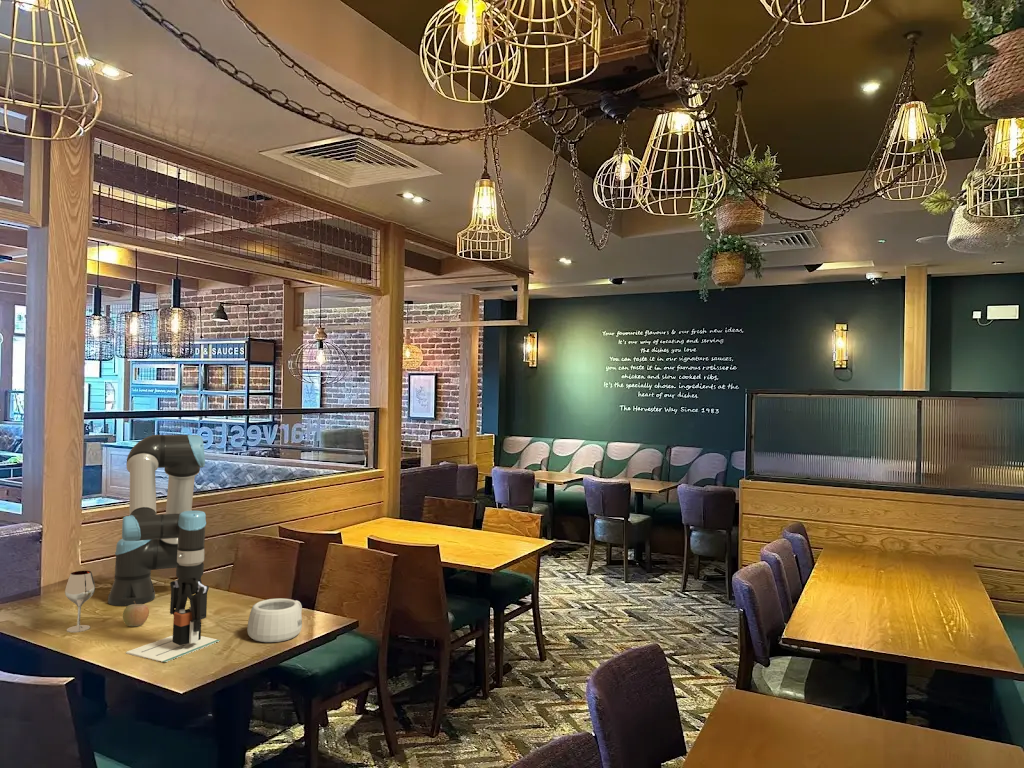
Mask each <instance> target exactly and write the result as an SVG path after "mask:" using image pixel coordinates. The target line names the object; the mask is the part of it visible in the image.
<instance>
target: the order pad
mask: <svg viewBox="0 0 1024 768" xmlns="http://www.w3.org/2000/svg"><path fill="white" fill-rule="evenodd" d="M219 641H220V642H221V639H216V638H212V637H207V636H202V635H201V639H200V640H198V641H197V642H194V643H191V644H190V643H187V644H184V645H178V644H176V643H173V634H172V635H170V636H167V637H164V638H161V639H158V640H156V641H153V642H150V643H147V644H144V645H141V646H139V647H136V648H133V649H130V650H128V651H125V654H127V655H130V656H135V657H137V658H138V657H139V658H142V657H143V659H146V658H148V659H147V660H150V659H152V660H151V661H154V660H156V661H155V662H158V661H161V662H160V663H162V662H167V663H169V662H168V661H170V660H172V661H174V660H173V659H175V658H177V659H179V658H178V657H180V658H182V657H184V656H183V655H185V656H187V655H189V653H190V654H192V653H195V652H197V651H200V650H202V649H205V648H207V647H210V646H213V645H214V643H215V644H217V643H216V642H218V643H219ZM212 644H213V645H212ZM209 645H210V646H209ZM204 647H205V648H204ZM199 649H200V650H199ZM196 650H197V651H196ZM194 651H195V652H194ZM191 652H192V653H191ZM186 654H187V655H186ZM181 656H182V657H181ZM175 660H176V659H175ZM170 662H171V661H170Z"/></svg>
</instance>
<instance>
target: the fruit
mask: <svg viewBox="0 0 1024 768" xmlns="http://www.w3.org/2000/svg"><path fill="white" fill-rule="evenodd" d="M134 603H135V601H134ZM149 615H150V609H149V607H148V605H146V604H144V603H143V604H136V603H135V604H132V605H129V606H125V608H124V609H123V612H122V621H123V622H124V624H125V625H126V626H128V627H140V626H142V625H144V623H146V621H147V619H148V617H149Z"/></svg>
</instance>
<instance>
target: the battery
mask: <svg viewBox="0 0 1024 768" xmlns="http://www.w3.org/2000/svg"><path fill="white" fill-rule="evenodd" d="M196 617H197V616H196ZM190 620H192V613H191V606H189V607H188V608H187V609H186V608H185V609H181V610H180V611H178V612H175V613H174V615H173V619H172V622H173V623H172V624H173V626H172V635H173V643H176V644H178V645H184V644H187V643H189V636H190ZM201 636H202V620H201V621H200V631H199V638H198V640H200V639H201Z"/></svg>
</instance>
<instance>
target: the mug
mask: <svg viewBox="0 0 1024 768" xmlns="http://www.w3.org/2000/svg"><path fill="white" fill-rule="evenodd" d="M302 611H303V606H302V603H301V602H300V601H299V600H297V599H296V600H294V599H290V598H269V599H268V598H267V599H263V600H260V601H258V602H256V603H254V604H253V605H252V608H251V609H250V613H249V617H248V621H247V622H248V623H247V629H246V631H247V635H248V636H249V638H251V639H253V641H256V642H260V643H280V642H284V641H288V640H291V639H294V638H295V637H297V636H298V635H299V634H300V633H301V631H302V627H303V617H302V616H303V615H302Z"/></svg>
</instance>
